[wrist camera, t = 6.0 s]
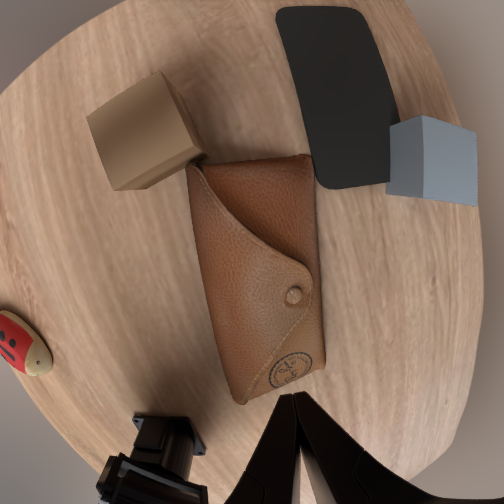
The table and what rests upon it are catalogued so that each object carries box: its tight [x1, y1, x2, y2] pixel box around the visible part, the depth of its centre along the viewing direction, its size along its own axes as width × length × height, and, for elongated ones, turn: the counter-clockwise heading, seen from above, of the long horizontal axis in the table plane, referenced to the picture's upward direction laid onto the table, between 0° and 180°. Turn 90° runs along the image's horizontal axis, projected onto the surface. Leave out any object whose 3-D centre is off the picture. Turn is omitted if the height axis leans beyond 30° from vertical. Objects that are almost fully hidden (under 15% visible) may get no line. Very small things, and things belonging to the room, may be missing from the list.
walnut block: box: [86, 71, 209, 191], centre depth 15 cm, size 5×5×5 cm
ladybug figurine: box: [0, 310, 53, 376], centre depth 20 cm, size 7×10×4 cm
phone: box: [276, 6, 400, 190], centre depth 16 cm, size 7×1×15 cm
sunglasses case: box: [185, 154, 326, 405], centre depth 19 cm, size 18×7×7 cm
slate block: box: [386, 115, 478, 207], centre depth 15 cm, size 5×5×5 cm
